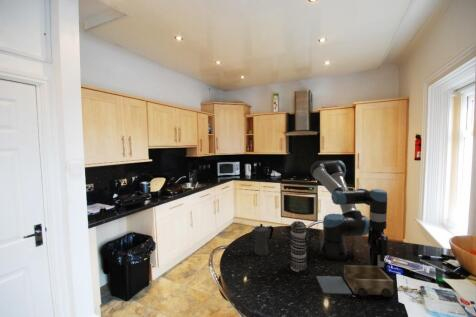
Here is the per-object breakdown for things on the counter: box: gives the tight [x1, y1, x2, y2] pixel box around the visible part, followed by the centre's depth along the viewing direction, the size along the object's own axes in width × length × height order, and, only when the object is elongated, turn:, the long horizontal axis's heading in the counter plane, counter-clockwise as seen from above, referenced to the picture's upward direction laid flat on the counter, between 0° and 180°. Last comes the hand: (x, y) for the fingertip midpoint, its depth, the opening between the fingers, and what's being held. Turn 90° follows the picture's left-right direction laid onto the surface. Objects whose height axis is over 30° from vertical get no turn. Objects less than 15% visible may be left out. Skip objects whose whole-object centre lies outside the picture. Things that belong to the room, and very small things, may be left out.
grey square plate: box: [315, 275, 353, 295], centre depth 104 cm, size 1×12×12 cm
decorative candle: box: [289, 220, 308, 273], centre depth 119 cm, size 9×9×25 cm
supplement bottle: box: [368, 241, 386, 269], centre depth 115 cm, size 7×7×12 cm
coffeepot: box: [251, 223, 275, 256], centre depth 138 cm, size 15×9×18 cm, turn 113°
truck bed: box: [343, 264, 394, 298], centre depth 102 cm, size 16×15×7 cm
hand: (376, 262), depth 116 cm, fingers closed on supplement bottle, 7 cm apart
